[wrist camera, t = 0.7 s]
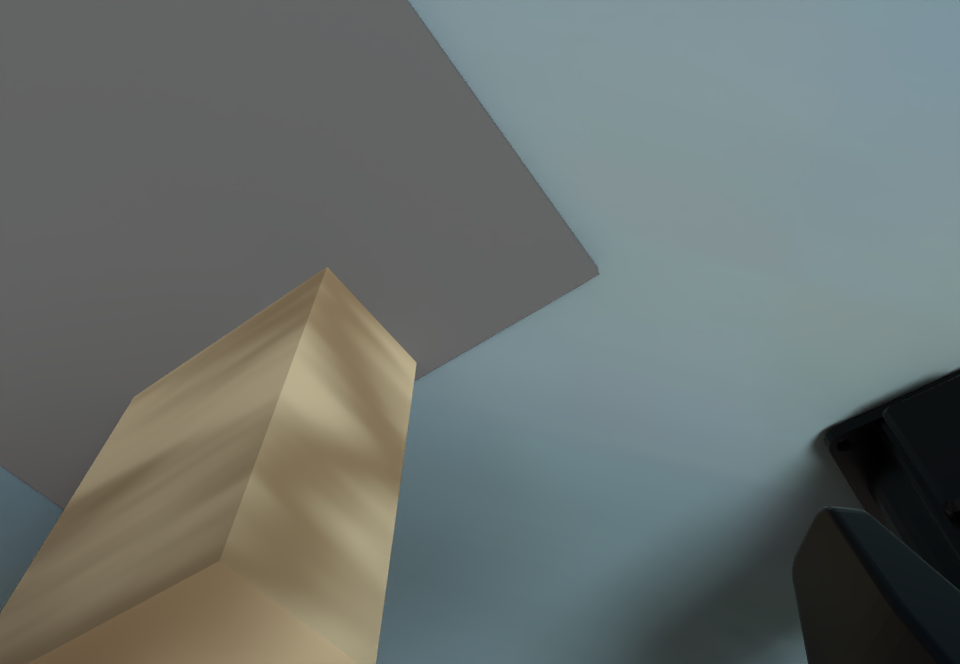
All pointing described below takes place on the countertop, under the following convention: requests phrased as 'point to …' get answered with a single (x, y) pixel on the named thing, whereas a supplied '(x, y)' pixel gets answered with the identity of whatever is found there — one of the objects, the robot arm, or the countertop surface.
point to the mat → (239, 198)
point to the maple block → (235, 504)
